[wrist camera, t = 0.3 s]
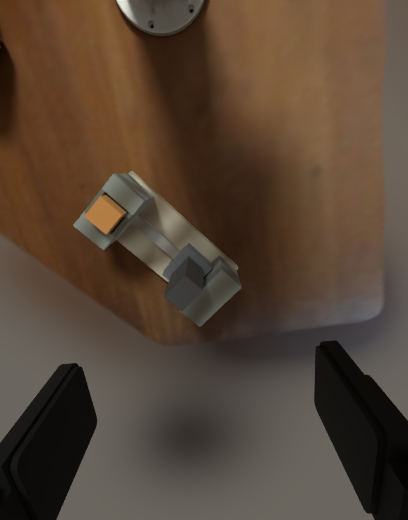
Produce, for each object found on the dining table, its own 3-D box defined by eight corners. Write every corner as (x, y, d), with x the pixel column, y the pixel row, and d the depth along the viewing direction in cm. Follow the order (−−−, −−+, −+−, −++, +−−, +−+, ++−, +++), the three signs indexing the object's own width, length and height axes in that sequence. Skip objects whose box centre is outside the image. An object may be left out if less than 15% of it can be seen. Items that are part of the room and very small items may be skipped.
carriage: (165, 266, 45) (152, 297, 33) (189, 241, 43) (184, 264, 32) (187, 285, 46) (182, 321, 35) (211, 260, 44) (214, 290, 33)
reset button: (91, 214, 36) (83, 216, 33) (106, 194, 35) (99, 196, 33) (111, 231, 36) (105, 234, 34) (126, 212, 35) (122, 215, 33)
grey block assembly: (95, 218, 44) (70, 228, 36) (133, 171, 42) (115, 170, 34) (198, 303, 49) (197, 329, 41) (237, 265, 46) (244, 284, 38)
